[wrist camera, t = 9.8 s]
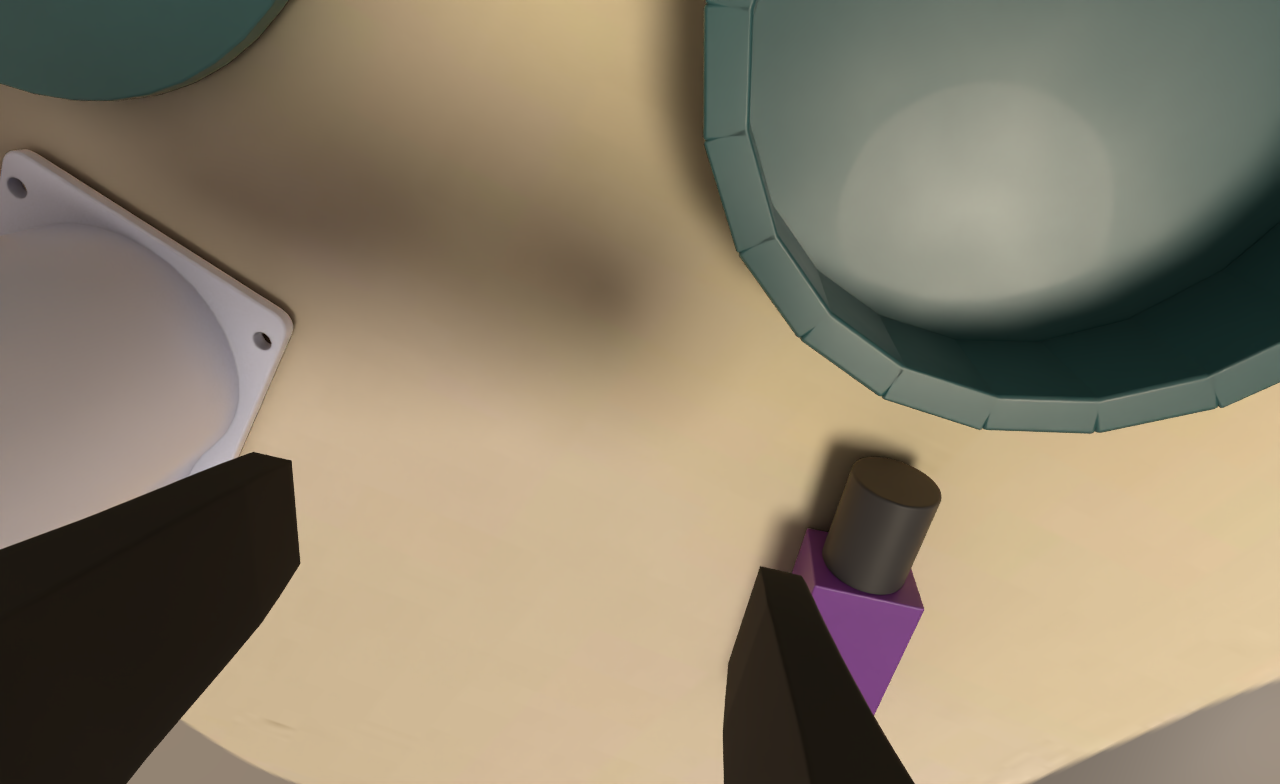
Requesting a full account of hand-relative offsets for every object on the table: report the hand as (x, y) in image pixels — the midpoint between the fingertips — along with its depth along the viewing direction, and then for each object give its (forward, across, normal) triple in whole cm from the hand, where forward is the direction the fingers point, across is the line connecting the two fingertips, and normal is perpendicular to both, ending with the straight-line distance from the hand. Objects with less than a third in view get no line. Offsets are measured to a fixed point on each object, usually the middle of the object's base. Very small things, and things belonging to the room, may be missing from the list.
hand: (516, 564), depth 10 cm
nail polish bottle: (+8, -8, +6) cm, 13 cm away
